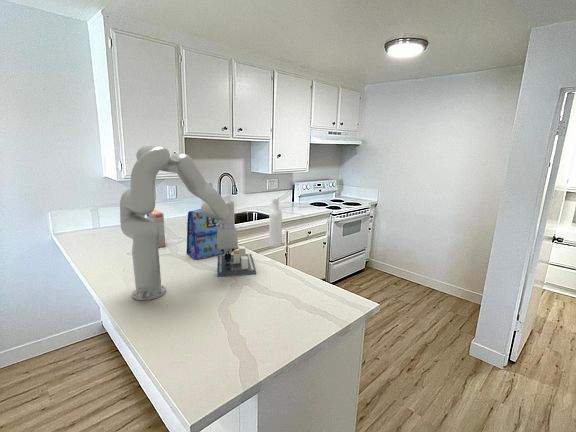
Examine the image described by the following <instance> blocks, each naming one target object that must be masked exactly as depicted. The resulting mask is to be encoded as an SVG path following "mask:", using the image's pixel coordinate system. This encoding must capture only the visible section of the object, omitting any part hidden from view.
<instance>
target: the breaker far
mask: <svg viewBox="0 0 576 432" xmlns="http://www.w3.org/2000/svg"><path fill="white" fill-rule="evenodd" d="M238 250H239V252H240V258H241V256H246V254H247V253H246V246H243V245H242V246H241V245H240V246H239V245H238Z"/></svg>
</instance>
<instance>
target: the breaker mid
mask: <svg viewBox="0 0 576 432" xmlns="http://www.w3.org/2000/svg"><path fill="white" fill-rule="evenodd" d="M232 255H233V259H234V264H236V263H240V252H239V249H237V250H234V251H233V252H232Z"/></svg>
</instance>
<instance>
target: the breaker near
mask: <svg viewBox="0 0 576 432" xmlns="http://www.w3.org/2000/svg"><path fill="white" fill-rule="evenodd" d="M241 267H242V269H248V257H247V256H241Z"/></svg>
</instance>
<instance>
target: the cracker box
mask: <svg viewBox="0 0 576 432" xmlns="http://www.w3.org/2000/svg"><path fill="white" fill-rule="evenodd" d="M146 218H148V219H150V220H152V221H154V222H155V223H156V224H157V226H158V228H159V240H158V249H159V248H163V247H166V236H165V220H164V213H163V212H160V211H159V210H156V209H154V210H153V212H151V213H150V214H147V215H146Z"/></svg>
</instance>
